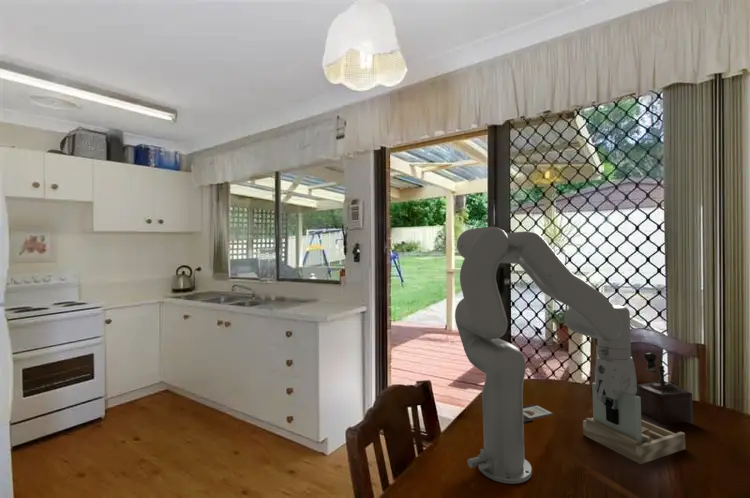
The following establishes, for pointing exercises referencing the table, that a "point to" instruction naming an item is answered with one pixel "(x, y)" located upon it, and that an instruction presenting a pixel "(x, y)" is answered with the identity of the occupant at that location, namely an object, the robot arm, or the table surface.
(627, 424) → the sheet
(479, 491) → the table surface
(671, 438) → the rack
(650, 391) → the dark brown coffee grinder
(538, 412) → the chocolate bar
